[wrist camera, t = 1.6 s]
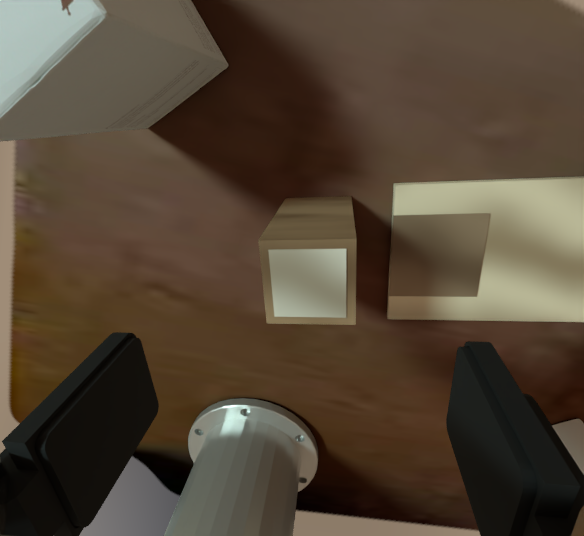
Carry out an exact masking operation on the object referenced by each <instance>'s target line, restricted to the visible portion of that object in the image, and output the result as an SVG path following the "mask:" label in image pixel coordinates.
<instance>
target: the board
mask: <svg viewBox="0 0 584 536" xmlns="http://www.w3.org/2000/svg"><path fill="white" fill-rule="evenodd" d="M387 318H388V319H411V320H478V321H545V322H584V176H581V177H553V178H526V179H499V180H472V181H445V182H418V183H394V189H393V208H392V227H391V246H390V265H389V284H388V304H387Z"/></svg>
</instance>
